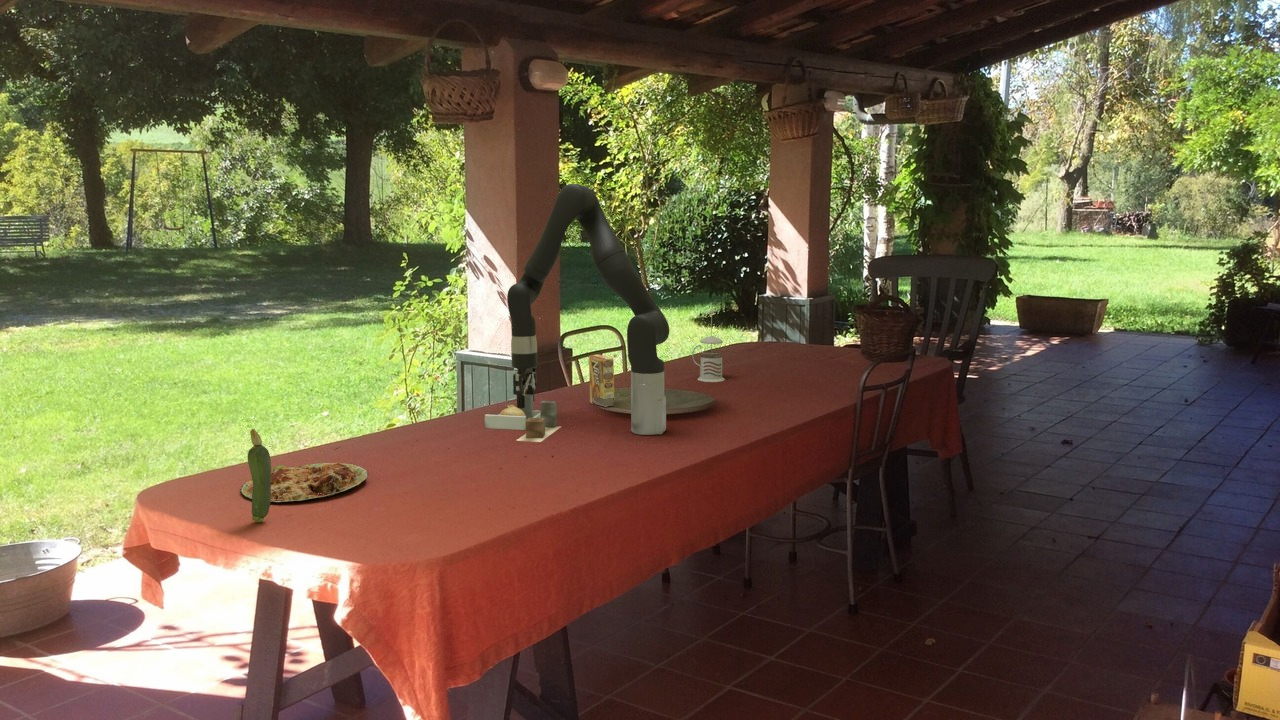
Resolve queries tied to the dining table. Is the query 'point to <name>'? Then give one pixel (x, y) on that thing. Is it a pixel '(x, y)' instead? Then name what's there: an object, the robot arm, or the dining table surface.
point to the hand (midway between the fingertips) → (526, 405)
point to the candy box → (601, 377)
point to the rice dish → (310, 481)
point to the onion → (512, 411)
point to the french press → (715, 358)
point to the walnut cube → (535, 427)
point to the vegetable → (259, 477)
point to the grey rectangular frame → (513, 417)
